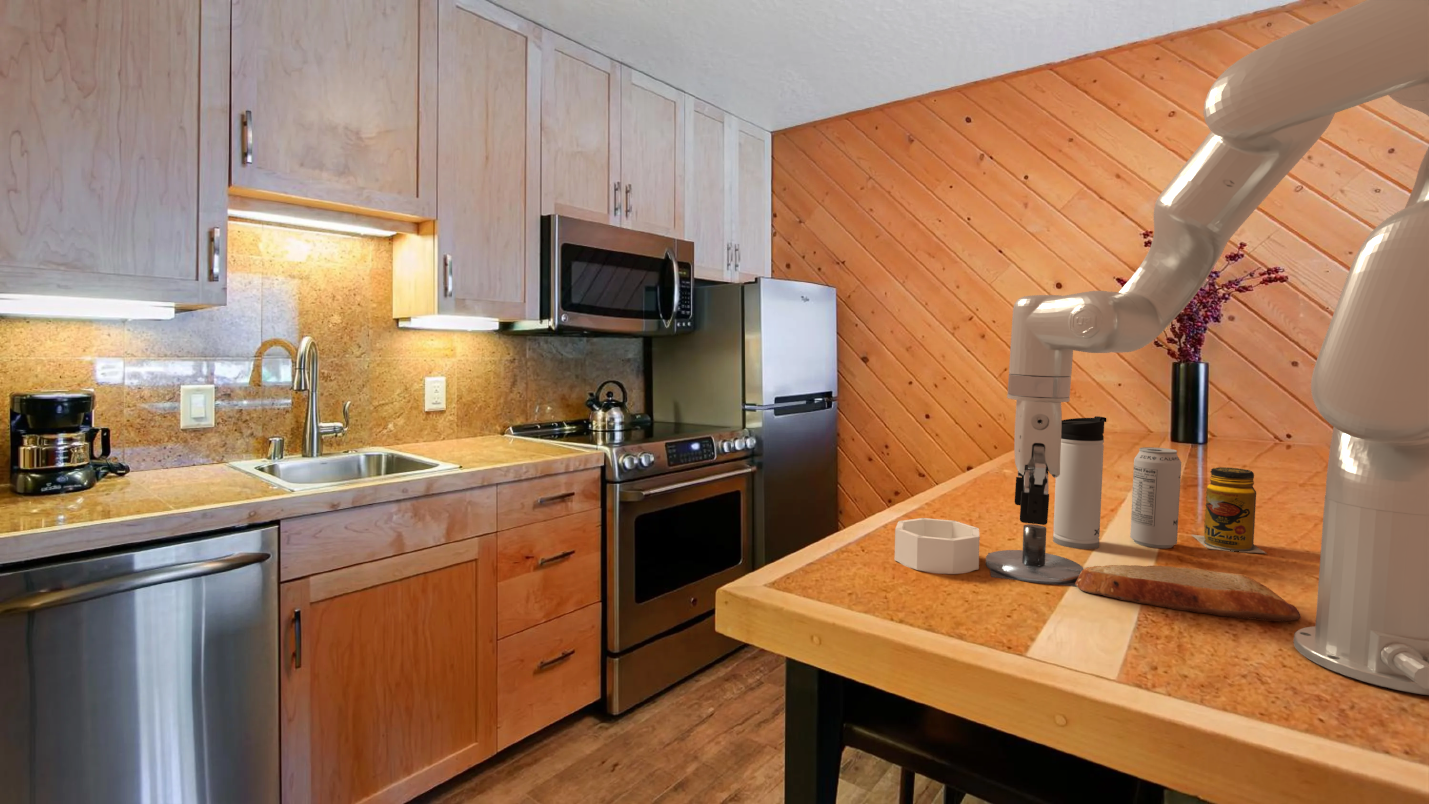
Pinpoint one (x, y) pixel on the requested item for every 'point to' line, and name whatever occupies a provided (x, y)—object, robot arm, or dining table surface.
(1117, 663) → the dining table surface
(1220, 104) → the robot arm
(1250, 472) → the condiment
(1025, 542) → the lid
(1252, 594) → the bread slice
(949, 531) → the bowl
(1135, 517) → the energy drink can
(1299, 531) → the dining table surface
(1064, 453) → the travel mug
